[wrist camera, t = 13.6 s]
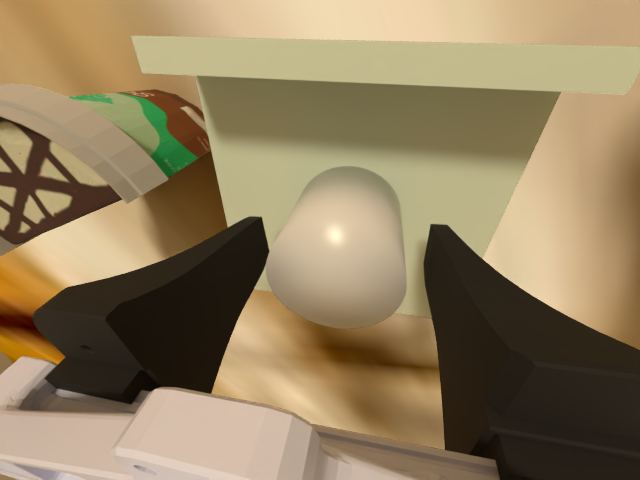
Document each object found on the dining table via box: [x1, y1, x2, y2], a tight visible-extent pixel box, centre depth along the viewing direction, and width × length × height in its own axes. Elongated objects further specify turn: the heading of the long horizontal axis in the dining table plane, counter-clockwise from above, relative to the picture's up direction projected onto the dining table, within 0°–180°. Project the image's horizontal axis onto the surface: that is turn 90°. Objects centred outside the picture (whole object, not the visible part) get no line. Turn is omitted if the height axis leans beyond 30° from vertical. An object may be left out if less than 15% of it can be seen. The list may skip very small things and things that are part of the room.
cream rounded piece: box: [266, 166, 407, 329], centre depth 12 cm, size 5×5×5 cm
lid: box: [131, 36, 640, 319], centre depth 13 cm, size 14×14×4 cm
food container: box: [0, 84, 211, 256], centre depth 16 cm, size 12×6×10 cm, turn 113°
